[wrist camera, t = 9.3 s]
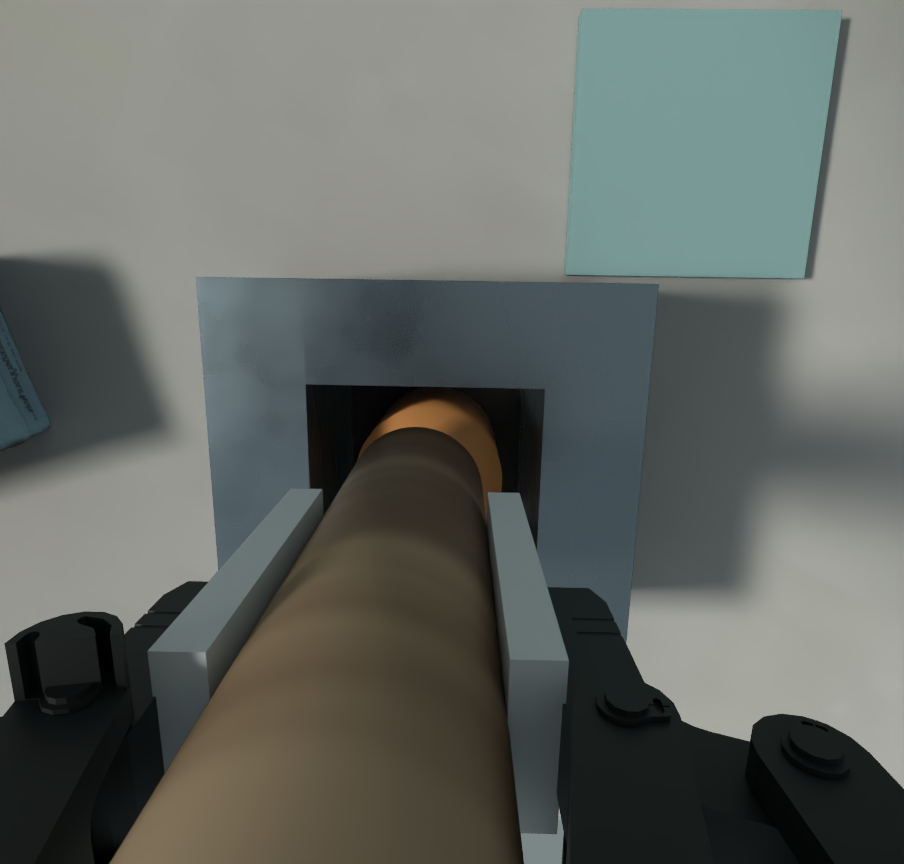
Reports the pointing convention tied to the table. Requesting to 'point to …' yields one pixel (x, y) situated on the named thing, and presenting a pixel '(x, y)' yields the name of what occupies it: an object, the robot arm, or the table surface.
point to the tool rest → (697, 141)
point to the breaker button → (448, 427)
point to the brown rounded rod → (359, 692)
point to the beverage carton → (17, 396)
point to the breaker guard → (436, 365)
